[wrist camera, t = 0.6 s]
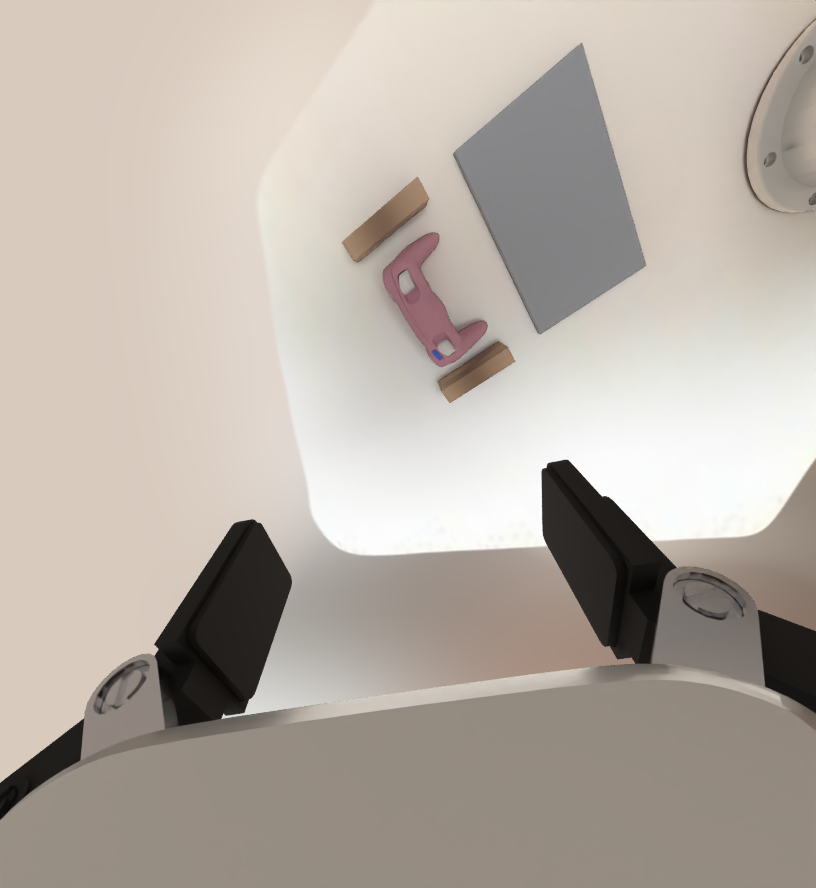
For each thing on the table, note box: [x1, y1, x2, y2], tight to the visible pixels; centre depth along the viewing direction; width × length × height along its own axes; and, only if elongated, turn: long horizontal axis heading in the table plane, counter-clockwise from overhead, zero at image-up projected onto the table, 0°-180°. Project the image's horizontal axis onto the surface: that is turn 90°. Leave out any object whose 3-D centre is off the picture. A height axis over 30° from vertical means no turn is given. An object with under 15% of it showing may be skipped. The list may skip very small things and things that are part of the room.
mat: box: [453, 43, 646, 334], centre depth 26 cm, size 10×16×1 cm, turn 35°
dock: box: [342, 177, 515, 403], centre depth 28 cm, size 7×16×3 cm, turn 35°
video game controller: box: [382, 232, 488, 367], centre depth 27 cm, size 10×5×7 cm, turn 35°
